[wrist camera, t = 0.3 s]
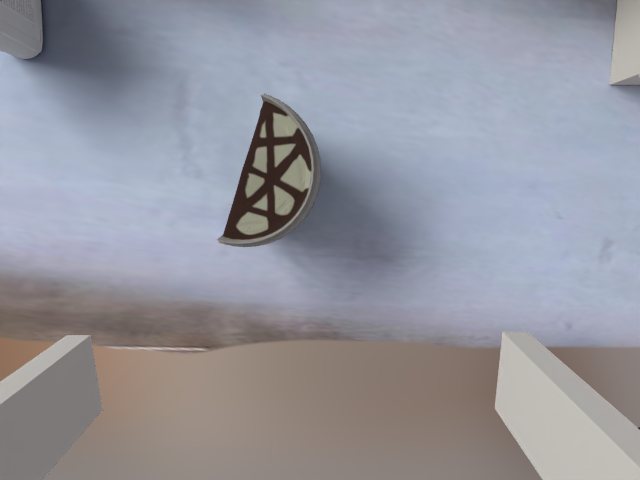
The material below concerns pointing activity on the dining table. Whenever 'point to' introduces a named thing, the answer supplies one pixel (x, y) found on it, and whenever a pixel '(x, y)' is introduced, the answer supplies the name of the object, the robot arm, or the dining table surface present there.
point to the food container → (274, 179)
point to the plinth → (626, 44)
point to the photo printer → (21, 28)
